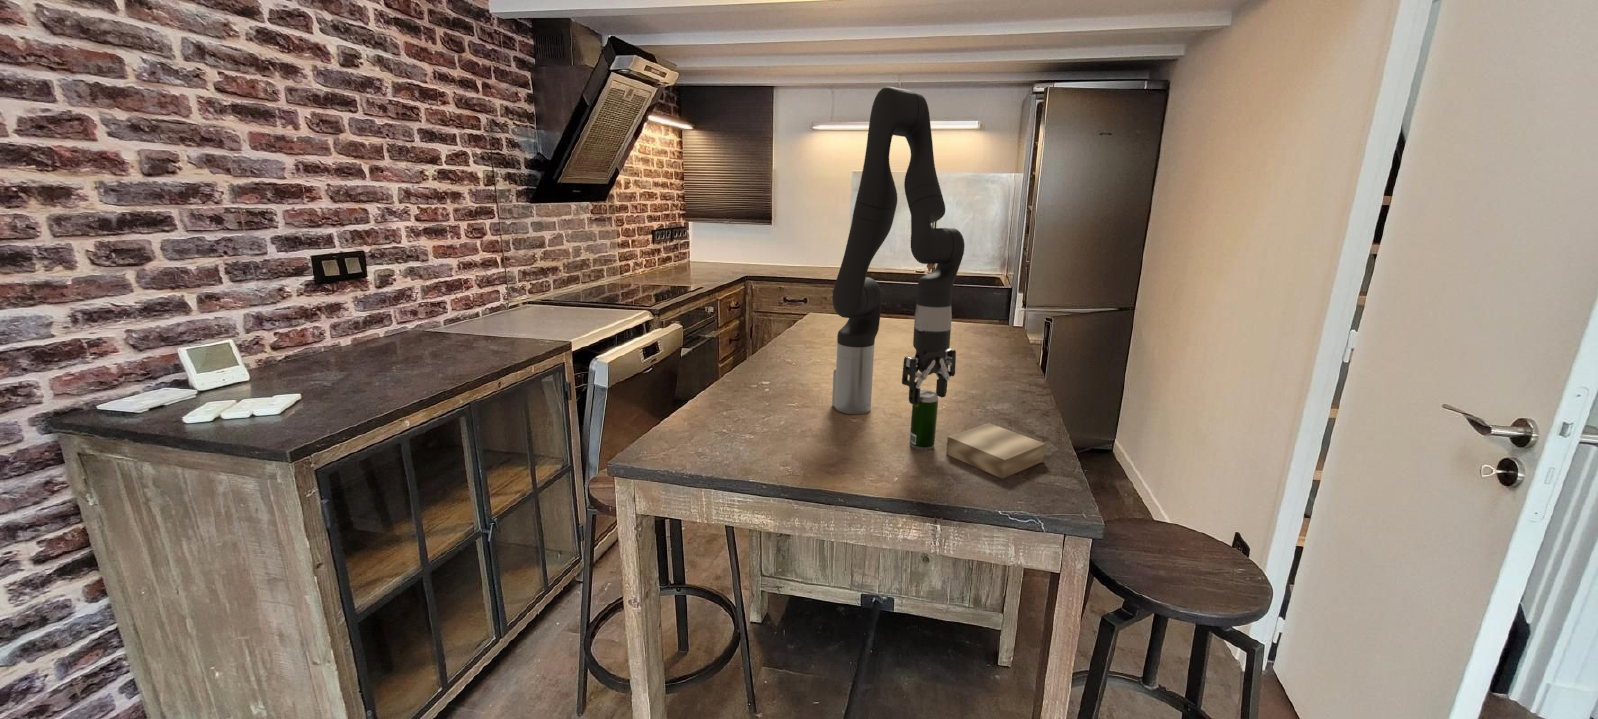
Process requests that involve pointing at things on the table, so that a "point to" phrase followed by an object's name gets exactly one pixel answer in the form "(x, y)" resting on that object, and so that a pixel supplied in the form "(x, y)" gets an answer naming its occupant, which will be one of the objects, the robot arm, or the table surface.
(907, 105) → the robot arm
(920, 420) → the beer can
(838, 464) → the table surface
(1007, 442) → the oak pedestal
